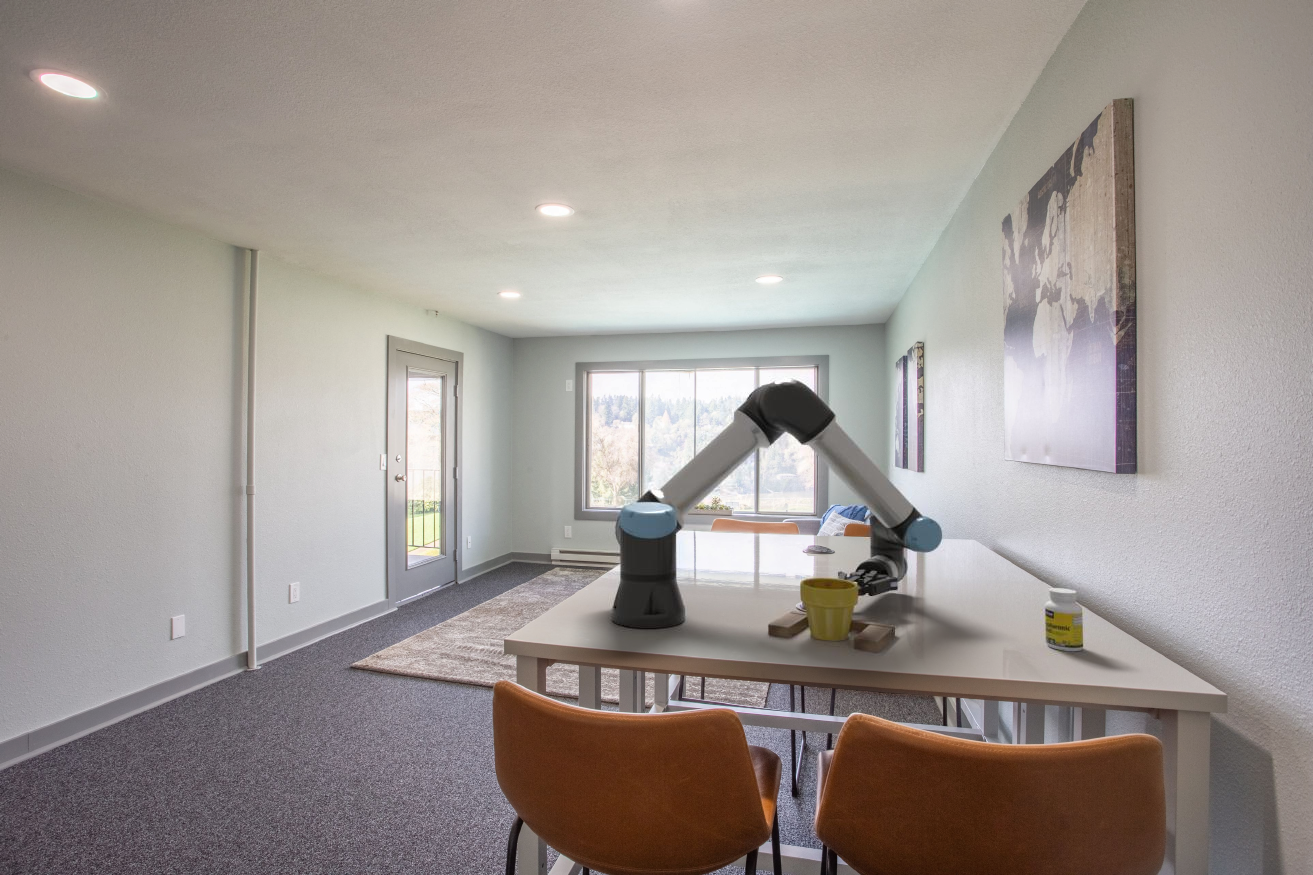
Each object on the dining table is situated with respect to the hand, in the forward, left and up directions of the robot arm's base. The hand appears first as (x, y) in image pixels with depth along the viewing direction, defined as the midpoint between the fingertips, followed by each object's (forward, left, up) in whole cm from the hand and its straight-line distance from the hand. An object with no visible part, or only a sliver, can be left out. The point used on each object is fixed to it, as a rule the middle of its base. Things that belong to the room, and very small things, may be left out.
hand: (843, 594), depth 119 cm
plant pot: (-1, -7, -7) cm, 10 cm away
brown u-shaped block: (-1, -7, -6) cm, 9 cm away
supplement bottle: (+35, +9, -7) cm, 37 cm away
